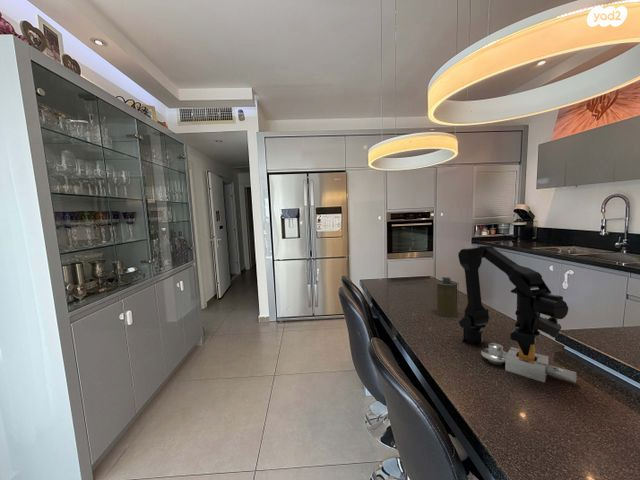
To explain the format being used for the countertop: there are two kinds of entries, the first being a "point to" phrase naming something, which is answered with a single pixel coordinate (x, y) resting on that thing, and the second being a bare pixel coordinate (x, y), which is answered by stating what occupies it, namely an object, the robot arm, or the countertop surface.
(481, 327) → the robot arm
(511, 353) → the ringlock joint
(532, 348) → the wedge
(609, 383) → the countertop surface
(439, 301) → the canister
